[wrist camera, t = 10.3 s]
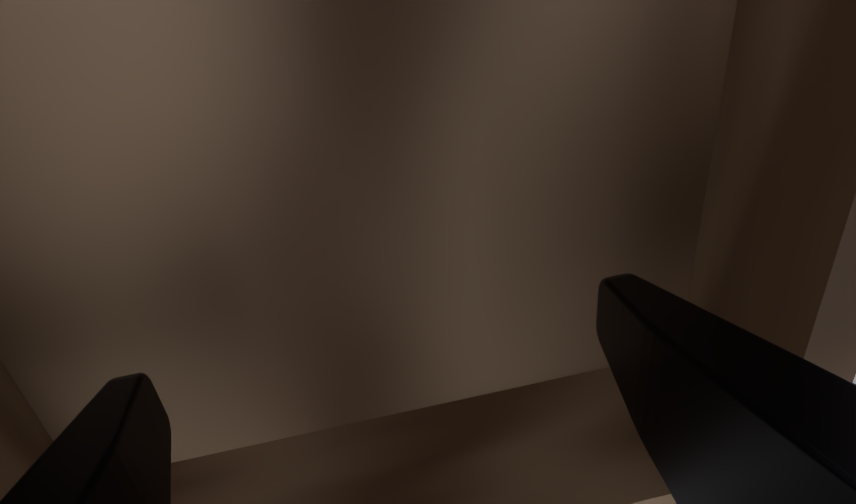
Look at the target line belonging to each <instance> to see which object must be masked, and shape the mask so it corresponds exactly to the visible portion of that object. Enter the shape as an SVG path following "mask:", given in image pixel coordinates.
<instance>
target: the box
mask: <svg viewBox="0 0 856 504" xmlns="http://www.w3.org/2000/svg"><path fill="white" fill-rule="evenodd" d="M625 273H631V274H634V275H636V276H638V277H640V278H642V279H644V280H646V281H648V282H651V283H653V284H655V285H657V286H659V287H661V288H663V289H665V290H667V291H669V292H671V293H673V294H675V295H677V296H679V297H681V298H683V299H685V300H687V301H689V302H691V303H693V304H695V305H697V306H699V307H701V308H703V309H705V310H707V311H709V312H711V313H713V314H715V315H717V316H719V317H721V318H723V319H725V320H727V321H729V322H731V323H733V324H735V325H737V326H739V327H741V328H743V329H745V330H747V331H749V332H751V333H753V334H755V335H757V336H759V337H761V338H763V339H765V340H767V341H769V342H771V343H773V344H775V345H777V346H779V347H781V348H783V349H785V350H787V351H789V352H791V353H793V354H795V355H798V356H800V357H802V358H804V359H806V360H808V361H810V362H812V363H814V364H816V365H818V366H820V367H822V368H824V369H826V370H828V371H830V372H832V373H834V374H836V375H838V376H840V377H842V378H844V379H846V380H848V381H850V382H853V379H854V377H855V374H856V0H0V500H1V499H2V498H3V497H4V496H5V495H6V494H7V492H8V491H9V490H10V489H11V488H12V487H13V486H14V485H15V484H16V483H17V481H18V480H19V479H20V478H21V477H22V476H23V475H24V474H25V473H26V471H27V470H28V469H29V468H30V467H31V466H32V465H33V464H34V463H35V461H36V460H37V459H38V458H39V457H40V456H41V455H42V454H43V453H44V451H45V450H46V449H47V448H48V447H49V446H50V445H51V444H52V443H53V441H54V440H55V439H56V438H57V437H58V436H59V435H60V434H61V433H62V432H63V430H64V429H65V428H66V427H67V426H68V425H69V424H70V423H71V422H72V420H73V419H74V418H75V417H76V416H77V415H78V414H79V413H80V412H81V410H82V409H83V408H84V407H85V406H86V405H87V404H88V403H89V402H90V400H91V399H92V398H93V397H94V396H95V395H96V394H97V393H98V392H99V390H100V389H101V388H102V387H103V386H104V385H105V384H106V383H107V382H108V381H109V380H111V379H113V378H116V377H120V376H125V375H130V374H135V373H144V374H146V375H147V376H148V377H149V378H150V379H151V381H152V383H153V385H154V387H155V390H156V392H157V394H158V396H159V398H160V400H161V402H162V404H163V406H164V408H165V411H166V413H167V415H168V417H169V421H170V426H171V504H676V502H675V500H674V498H673V497H672V495H671V493H670V491H669V490H668V488H667V486H666V484H665V482H664V481H663V479H662V477H661V475H660V474H659V472H658V470H657V468H656V466H655V465H654V463H653V461H652V459H651V458H650V456H649V454H648V452H647V450H646V448H645V446H644V445H643V443H642V441H641V439H640V437H639V435H638V432H637V430H636V428H635V426H634V424H633V421H632V419H631V416H630V414H629V412H628V409H627V407H626V405H625V402H624V400H623V397H622V395H621V393H620V390H619V388H618V386H617V383H616V381H615V378H614V376H613V374H612V371H611V369H610V366H609V364H608V362H607V359H606V357H605V355H604V352H603V350H602V347H601V345H600V342H599V340H598V336H597V331H596V315H597V299H598V287H599V283H600V281H601V280H602V279H603V278H606V277H610V276H615V275H620V274H625Z"/></svg>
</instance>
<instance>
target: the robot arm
mask: <svg viewBox="0 0 856 504" xmlns="http://www.w3.org/2000/svg"><path fill="white" fill-rule="evenodd" d="M596 331H597V336H598V340H599V342H600V345H601V347H602V350H603V352H604V355H605V357H606V359H607V362H608V364H609V366H610V369H611V371H612V374H613V376H614V378H615V381H616V383H617V386H618V388H619V390H620V393H621V395H622V397H623V400H624V402H625V405H626V407H627V409H628V412H629V414H630V416H631V419H632V421H633V424H634V426H635V428H636V430H637V432H638V435H639V437H640V439H641V441H642V443H643V445H644V446H645V448H646V450H647V452H648V454H649V456H650V458H651V459H652V461H653V463H654V465H655V466H656V468H657V470H658V472H659V474H660V475H661V477H662V479H663V481H664V482H665V484H666V486H667V488H668V490H669V491H670V493H671V495H672V497H673V498H674V500H675V502H676V504H856V384H854V383H852V382H850V381H848V380H846V379H844V378H842V377H840V376H838V375H836V374H834V373H832V372H830V371H828V370H826V369H824V368H822V367H820V366H818V365H816V364H814V363H812V362H810V361H808V360H806V359H804V358H802V357H800V356H798V355H795V354H793V353H791V352H789V351H787V350H785V349H783V348H781V347H779V346H777V345H775V344H773V343H771V342H769V341H767V340H765V339H763V338H761V337H759V336H757V335H755V334H753V333H751V332H749V331H747V330H745V329H743V328H741V327H739V326H737V325H735V324H733V323H731V322H729V321H727V320H725V319H723V318H721V317H719V316H717V315H715V314H713V313H711V312H709V311H707V310H705V309H703V308H701V307H699V306H697V305H695V304H693V303H691V302H689V301H687V300H685V299H683V298H681V297H679V296H677V295H675V294H673V293H671V292H669V291H667V290H665V289H663V288H661V287H659V286H657V285H655V284H653V283H651V282H648V281H646V280H644V279H642V278H640V277H638V276H636V275H634V274H631V273H625V274H620V275H615V276H610V277H606V278H603V279H602V280H601V281H600V283H599V287H598V299H597V315H596ZM0 504H171V426H170V421H169V417H168V415H167V413H166V411H165V408H164V406H163V404H162V402H161V400H160V398H159V396H158V394H157V392H156V390H155V387H154V385H153V383H152V381H151V379H150V378H149V377H148V376H147V375H146V374H144V373H135V374H130V375H125V376H120V377H116V378H113V379H111V380H109V381H108V382H107V383H106V384H105V385H104V386H103V387H102V388H101V389H100V390H99V392H98V393H97V394H96V395H95V396H94V397H93V398H92V399H91V400H90V402H89V403H88V404H87V405H86V406H85V407H84V408H83V409H82V410H81V412H80V413H79V414H78V415H77V416H76V417H75V418H74V419H73V420H72V422H71V423H70V424H69V425H68V426H67V427H66V428H65V429H64V430H63V432H62V433H61V434H60V435H59V436H58V437H57V438H56V439H55V440H54V441H53V443H52V444H51V445H50V446H49V447H48V448H47V449H46V450H45V451H44V453H43V454H42V455H41V456H40V457H39V458H38V459H37V460H36V461H35V463H34V464H33V465H32V466H31V467H30V468H29V469H28V470H27V471H26V473H25V474H24V475H23V476H22V477H21V478H20V479H19V480H18V481H17V483H16V484H15V485H14V486H13V487H12V488H11V489H10V490H9V491H8V492H7V494H6V495H5V496H4V497H3V498H2V499H1V500H0Z"/></svg>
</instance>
